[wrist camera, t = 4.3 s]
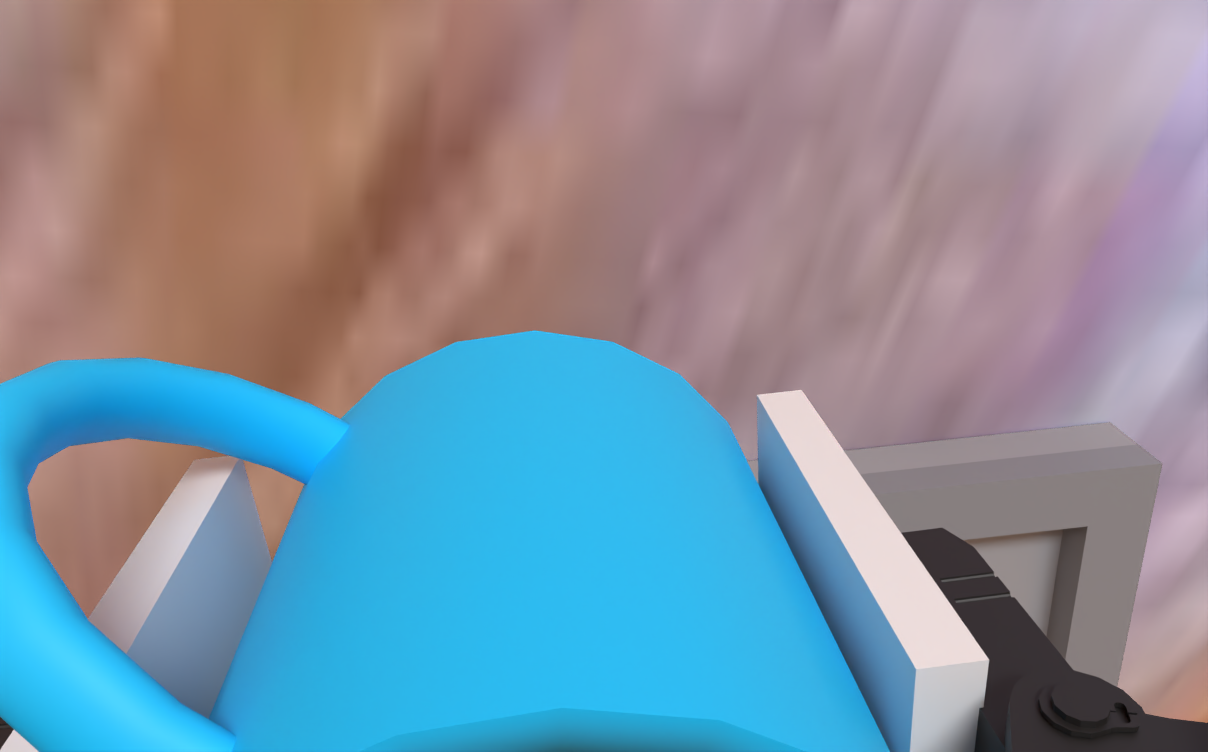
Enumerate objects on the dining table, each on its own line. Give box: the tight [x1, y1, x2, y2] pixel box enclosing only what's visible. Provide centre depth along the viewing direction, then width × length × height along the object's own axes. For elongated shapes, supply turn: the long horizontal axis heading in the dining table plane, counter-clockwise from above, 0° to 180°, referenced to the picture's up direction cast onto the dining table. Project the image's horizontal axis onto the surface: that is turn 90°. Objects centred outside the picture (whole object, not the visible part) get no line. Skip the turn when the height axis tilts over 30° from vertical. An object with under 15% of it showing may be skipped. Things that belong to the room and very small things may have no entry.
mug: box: [0, 331, 890, 752], centre depth 12 cm, size 12×8×8 cm
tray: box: [747, 422, 1162, 687], centre depth 32 cm, size 16×20×3 cm
